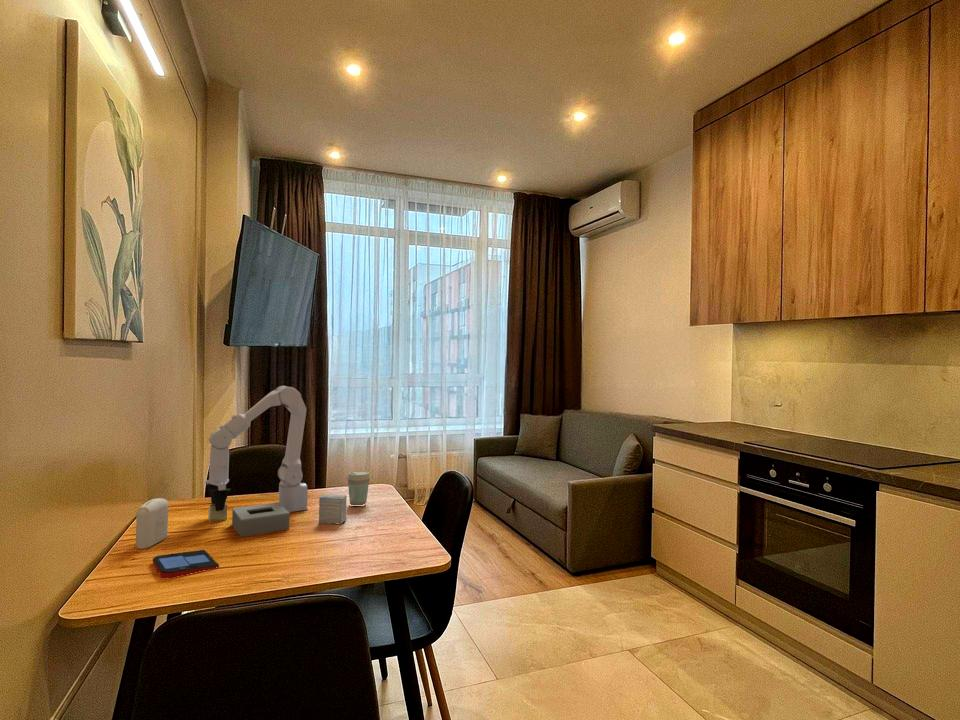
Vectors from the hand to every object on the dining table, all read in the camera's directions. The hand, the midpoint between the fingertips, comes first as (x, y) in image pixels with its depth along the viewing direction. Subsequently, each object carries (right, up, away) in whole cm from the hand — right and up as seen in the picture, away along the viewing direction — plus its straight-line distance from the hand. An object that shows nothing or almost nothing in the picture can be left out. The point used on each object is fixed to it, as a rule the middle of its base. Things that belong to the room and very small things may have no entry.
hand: (217, 507), depth 168 cm
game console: (+11, -5, -38) cm, 39 cm away
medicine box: (+38, -5, 0) cm, 38 cm away
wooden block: (0, -4, 0) cm, 4 cm away
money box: (+17, -4, -6) cm, 18 cm away
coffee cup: (+41, -5, +21) cm, 47 cm away
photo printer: (-7, -4, -22) cm, 24 cm away
